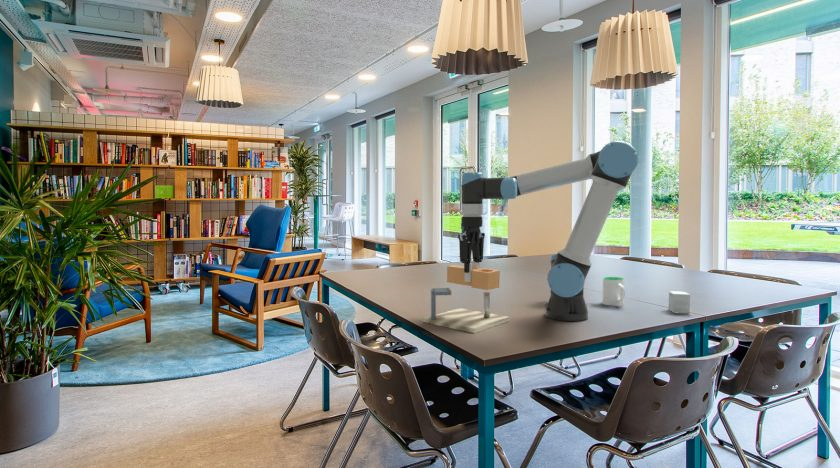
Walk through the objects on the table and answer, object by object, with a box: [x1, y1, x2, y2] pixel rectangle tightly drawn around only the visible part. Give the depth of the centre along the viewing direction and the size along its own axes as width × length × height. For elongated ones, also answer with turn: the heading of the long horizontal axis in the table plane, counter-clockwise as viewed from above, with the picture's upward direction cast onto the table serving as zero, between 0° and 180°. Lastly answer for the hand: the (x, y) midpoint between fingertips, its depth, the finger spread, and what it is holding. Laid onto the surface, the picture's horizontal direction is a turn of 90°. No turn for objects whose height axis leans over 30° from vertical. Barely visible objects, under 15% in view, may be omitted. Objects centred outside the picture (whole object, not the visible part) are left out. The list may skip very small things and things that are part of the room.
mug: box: [602, 276, 626, 307], centre depth 209 cm, size 12×8×10 cm
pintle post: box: [483, 291, 491, 318], centre depth 182 cm, size 2×2×9 cm
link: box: [446, 264, 501, 291], centre depth 186 cm, size 20×7×6 cm, turn 49°
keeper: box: [430, 287, 452, 320], centre depth 181 cm, size 7×7×10 cm
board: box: [423, 307, 510, 334], centre depth 183 cm, size 22×21×2 cm
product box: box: [667, 290, 691, 314], centre depth 196 cm, size 6×6×7 cm
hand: (471, 280), depth 186 cm, fingers closed on link, 3 cm apart
